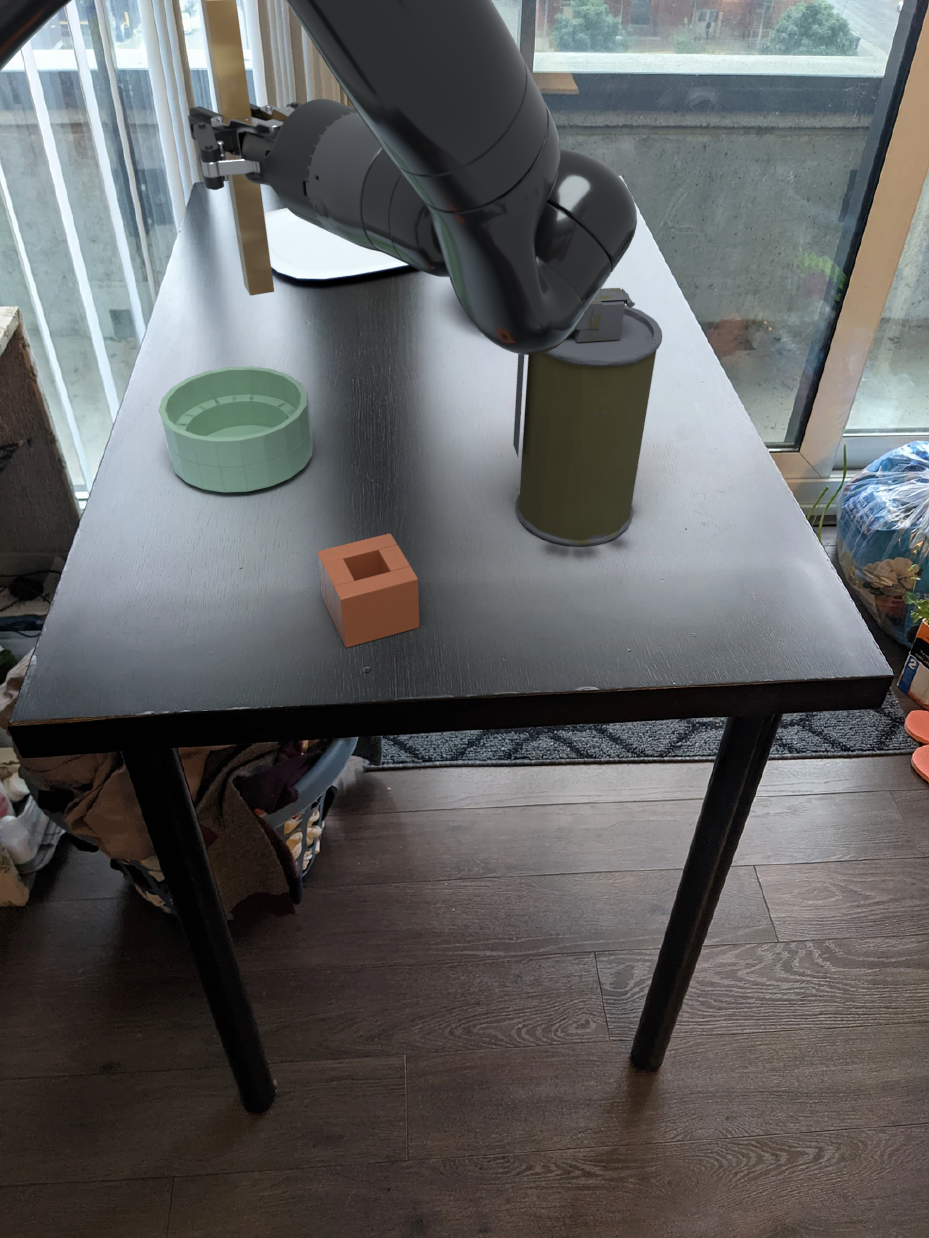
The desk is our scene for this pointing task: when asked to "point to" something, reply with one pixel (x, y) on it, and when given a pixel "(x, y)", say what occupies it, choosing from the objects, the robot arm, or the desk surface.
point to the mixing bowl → (237, 428)
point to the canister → (586, 424)
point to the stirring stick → (233, 104)
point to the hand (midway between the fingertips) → (214, 118)
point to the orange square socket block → (369, 589)
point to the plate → (318, 251)
